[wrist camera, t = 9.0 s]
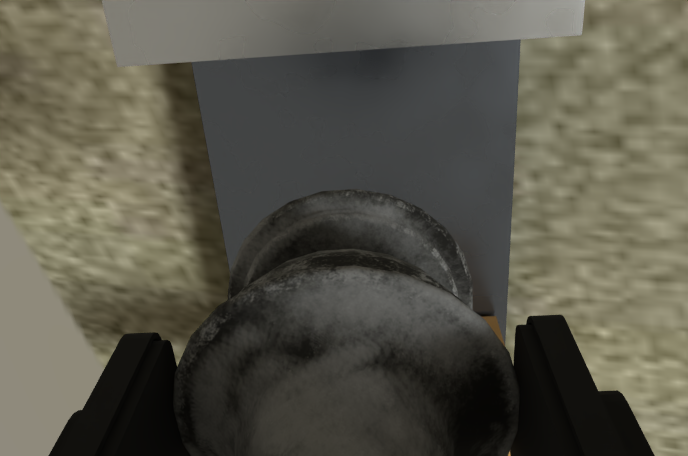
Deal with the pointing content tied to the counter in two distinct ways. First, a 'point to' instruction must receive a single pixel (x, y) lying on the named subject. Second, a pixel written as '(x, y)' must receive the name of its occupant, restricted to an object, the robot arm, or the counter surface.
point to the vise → (356, 105)
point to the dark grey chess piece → (347, 342)
